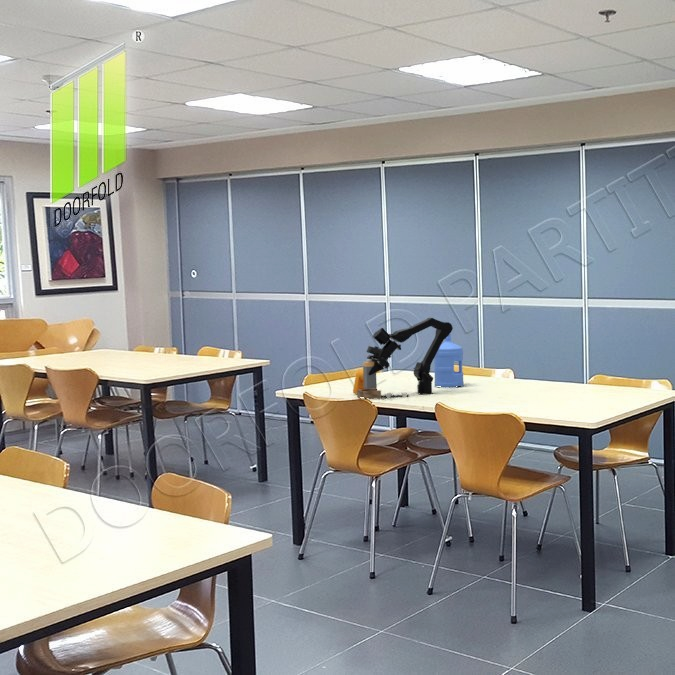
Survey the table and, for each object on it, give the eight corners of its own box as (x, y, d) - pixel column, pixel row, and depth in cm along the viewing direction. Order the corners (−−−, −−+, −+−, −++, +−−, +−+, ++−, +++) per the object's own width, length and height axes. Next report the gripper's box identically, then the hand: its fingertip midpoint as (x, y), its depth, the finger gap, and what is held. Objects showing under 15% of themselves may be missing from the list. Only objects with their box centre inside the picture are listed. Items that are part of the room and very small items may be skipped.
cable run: (408, 396, 459) (408, 394, 459) (408, 397, 457) (408, 395, 457) (379, 397, 461) (379, 395, 461) (379, 397, 459) (379, 395, 459)
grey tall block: (373, 387, 463) (372, 358, 462) (376, 388, 458) (375, 359, 458) (363, 387, 462) (362, 359, 461) (367, 388, 457) (366, 359, 456)
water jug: (433, 388, 491) (432, 335, 489) (435, 384, 506) (434, 333, 504) (463, 387, 488) (462, 335, 486) (464, 384, 504) (462, 333, 502)
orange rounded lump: (364, 395, 469) (363, 372, 468) (353, 395, 473) (352, 371, 473) (377, 393, 477) (376, 370, 476) (365, 392, 482) (365, 369, 481)
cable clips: (406, 396, 460) (406, 392, 460) (406, 397, 457) (406, 393, 457) (386, 396, 461) (386, 392, 461) (386, 397, 457) (386, 393, 457)
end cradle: (376, 395, 466) (376, 388, 466) (381, 398, 456) (380, 390, 456) (357, 396, 464) (357, 389, 464) (361, 399, 455) (361, 391, 454)
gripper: (369, 339, 469) (350, 362, 466) (382, 341, 451) (362, 365, 448) (384, 353, 472) (365, 376, 469) (398, 356, 454) (377, 380, 451)
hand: (367, 374), depth 459 cm, fingers closed on grey tall block, 5 cm apart
